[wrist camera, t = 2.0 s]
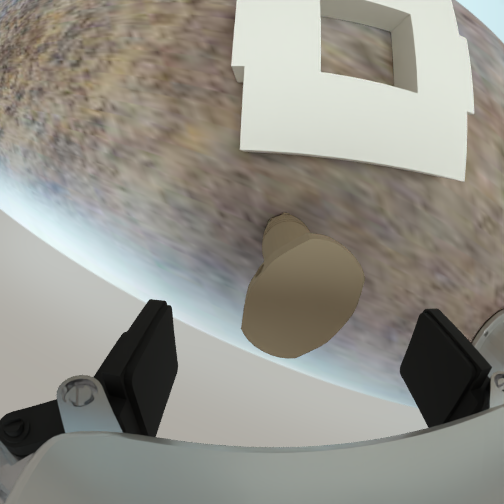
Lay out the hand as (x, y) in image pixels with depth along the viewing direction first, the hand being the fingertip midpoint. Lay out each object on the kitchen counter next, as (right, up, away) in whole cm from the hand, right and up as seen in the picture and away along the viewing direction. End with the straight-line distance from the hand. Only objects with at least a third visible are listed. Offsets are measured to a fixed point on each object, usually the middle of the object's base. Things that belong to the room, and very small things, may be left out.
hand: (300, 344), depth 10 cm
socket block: (+8, +22, +12) cm, 26 cm away
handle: (+1, +5, +18) cm, 19 cm away
